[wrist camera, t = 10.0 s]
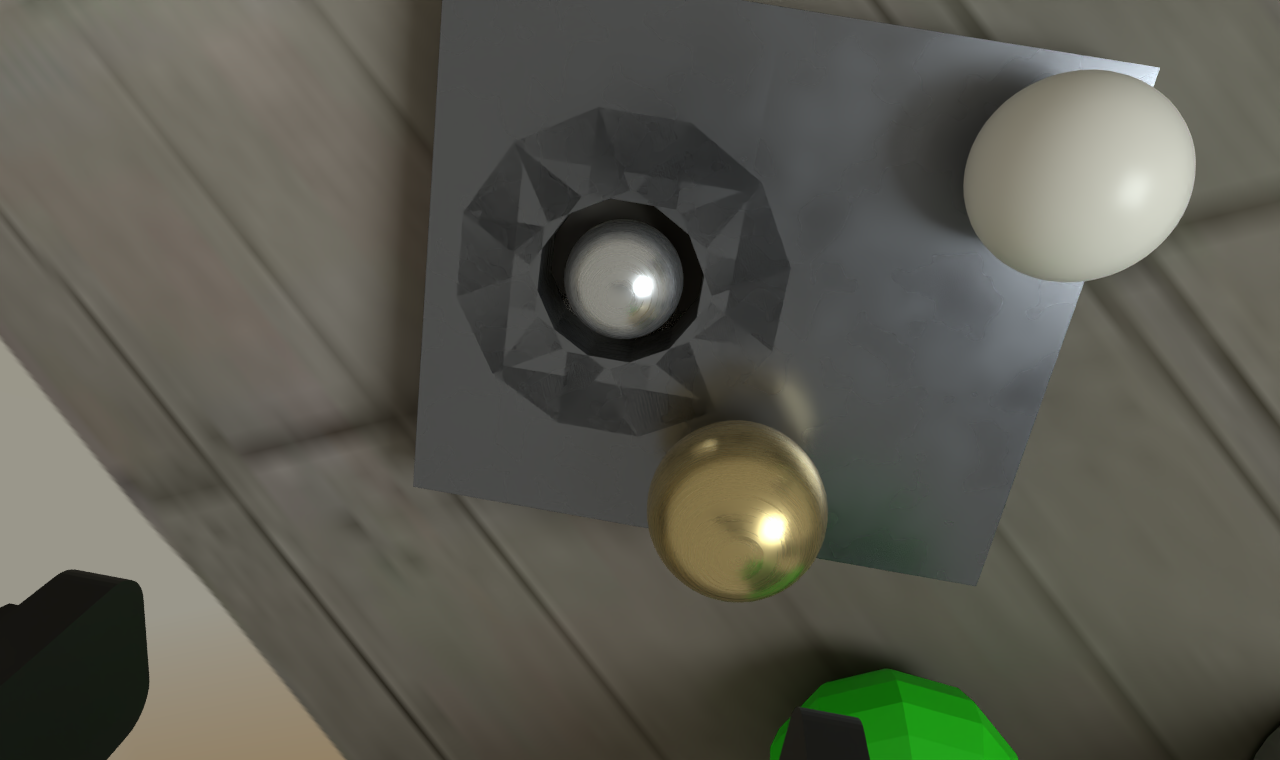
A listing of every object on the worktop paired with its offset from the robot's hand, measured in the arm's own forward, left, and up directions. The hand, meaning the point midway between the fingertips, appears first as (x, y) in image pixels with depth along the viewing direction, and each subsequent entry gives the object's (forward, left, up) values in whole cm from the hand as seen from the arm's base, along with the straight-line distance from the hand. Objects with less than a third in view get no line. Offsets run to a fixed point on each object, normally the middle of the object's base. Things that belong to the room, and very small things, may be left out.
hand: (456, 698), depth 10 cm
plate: (-4, 0, -22) cm, 22 cm away
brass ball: (-5, +6, -17) cm, 18 cm away
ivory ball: (-12, -6, -17) cm, 21 cm away
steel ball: (0, 0, -20) cm, 20 cm away
